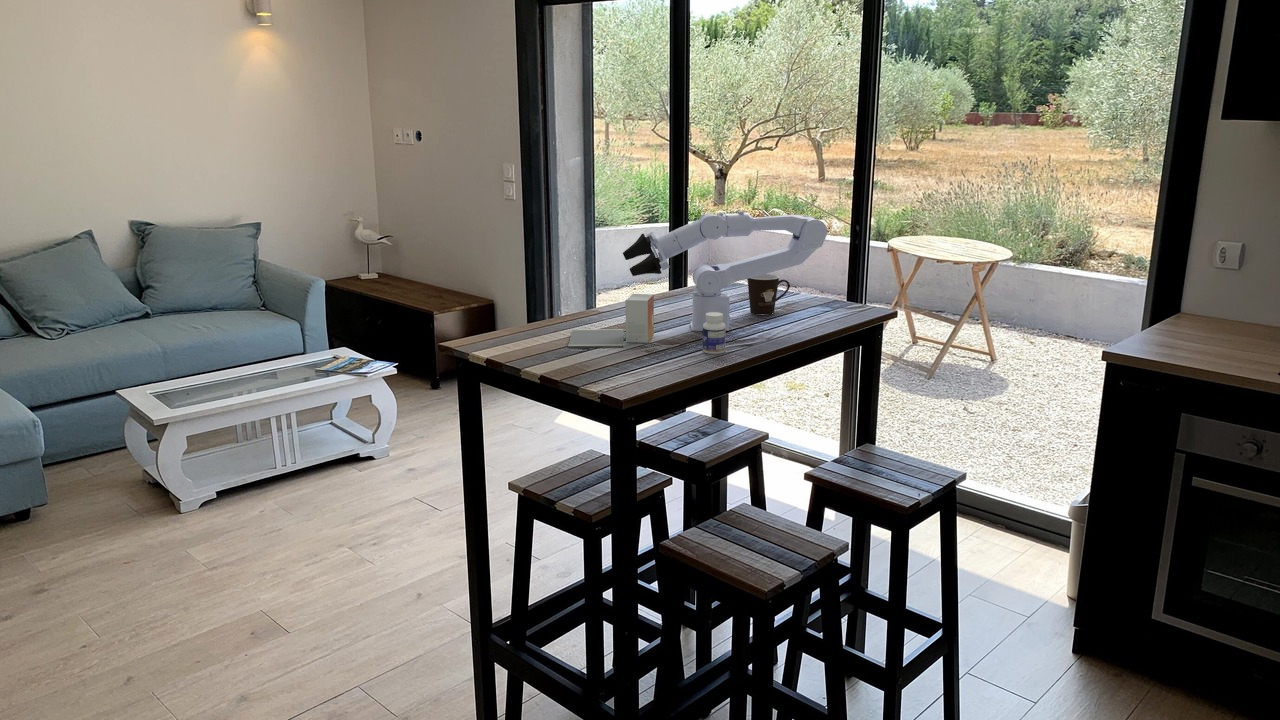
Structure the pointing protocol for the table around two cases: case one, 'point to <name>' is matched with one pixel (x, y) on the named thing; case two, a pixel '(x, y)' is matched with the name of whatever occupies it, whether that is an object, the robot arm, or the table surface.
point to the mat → (596, 338)
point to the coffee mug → (764, 293)
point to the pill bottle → (714, 333)
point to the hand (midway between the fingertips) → (627, 264)
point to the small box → (639, 318)
